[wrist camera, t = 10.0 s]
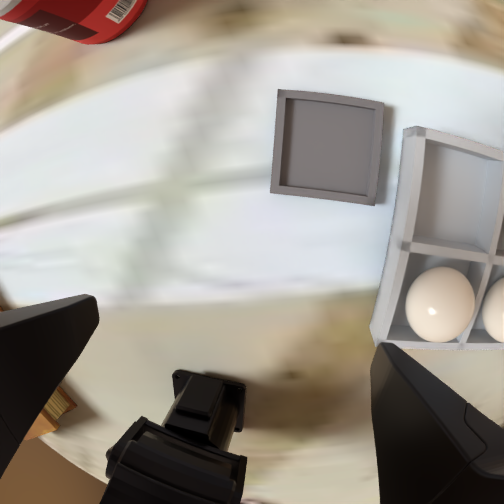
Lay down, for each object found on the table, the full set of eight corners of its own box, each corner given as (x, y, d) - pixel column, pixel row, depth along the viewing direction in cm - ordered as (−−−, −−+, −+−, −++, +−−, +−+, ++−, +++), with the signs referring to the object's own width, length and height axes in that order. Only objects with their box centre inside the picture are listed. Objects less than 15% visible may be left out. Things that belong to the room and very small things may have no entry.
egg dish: (371, 203, 18) (374, 206, 17) (271, 191, 19) (269, 192, 18) (380, 105, 16) (384, 102, 15) (279, 92, 17) (277, 89, 16)
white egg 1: (445, 321, 19) (470, 357, 14) (389, 317, 20) (406, 356, 15) (464, 260, 17) (497, 287, 13) (406, 252, 18) (432, 280, 14)
